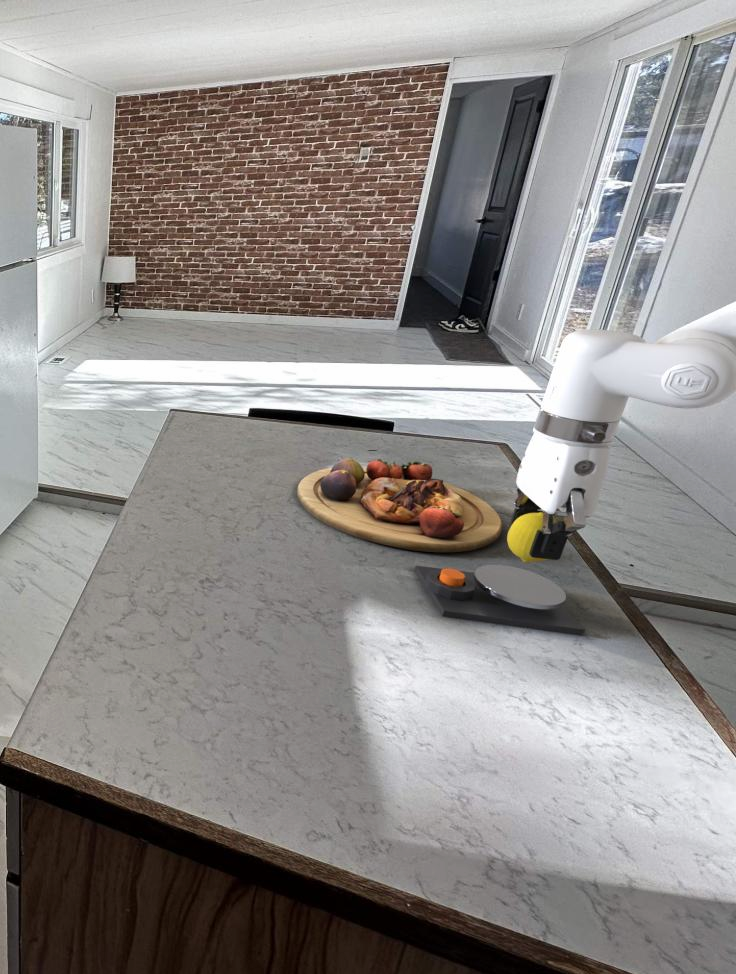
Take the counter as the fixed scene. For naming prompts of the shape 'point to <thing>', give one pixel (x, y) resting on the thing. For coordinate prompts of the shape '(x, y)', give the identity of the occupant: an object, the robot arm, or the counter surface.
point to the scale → (491, 605)
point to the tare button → (452, 577)
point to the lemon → (525, 535)
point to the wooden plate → (399, 507)
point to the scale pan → (519, 587)
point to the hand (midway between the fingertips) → (532, 544)
